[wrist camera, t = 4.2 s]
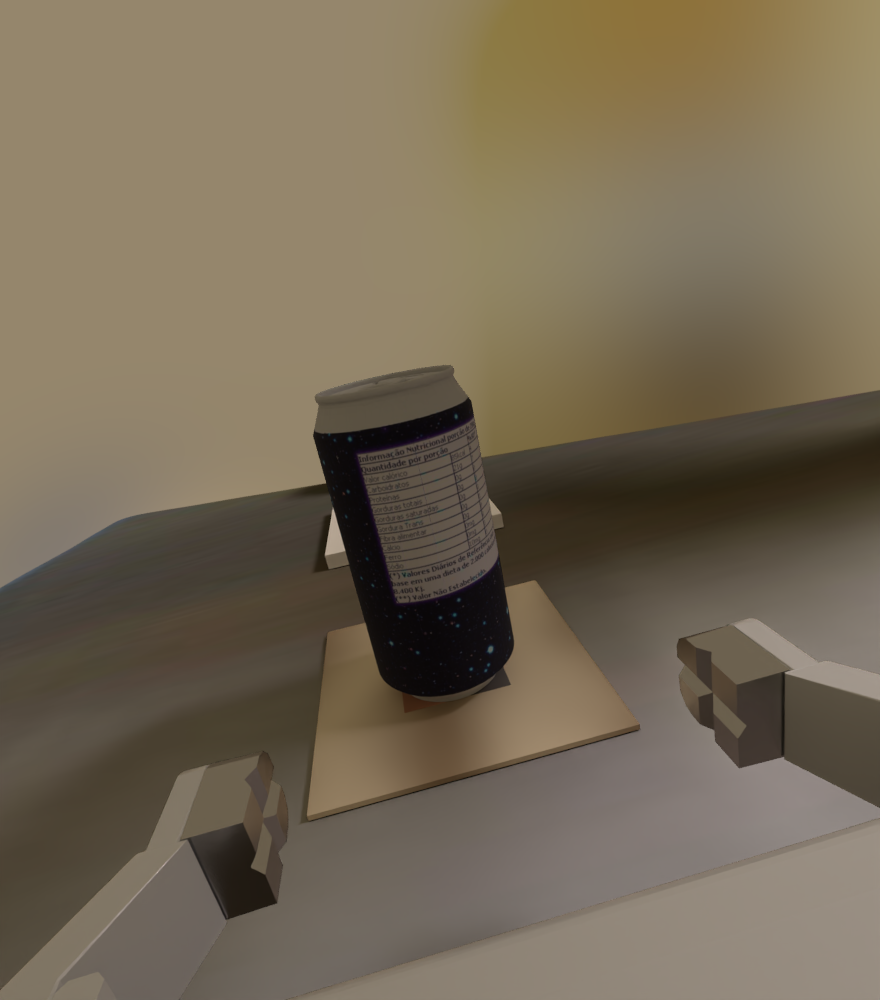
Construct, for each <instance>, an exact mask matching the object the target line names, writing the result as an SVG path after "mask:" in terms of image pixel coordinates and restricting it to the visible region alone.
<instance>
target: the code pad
mask: <svg viewBox="0 0 880 1000" xmlns="http://www.w3.org/2000/svg"><path fill="white" fill-rule="evenodd" d="M505 592H506V597H507V603H508V608H509V614H510V620H511V625H512V631H513V636H514V649H513V652H512V654H511V656H510V658H509V660H508V661H507V663H506V664H505V665H504V666H503V667H502V668H501V670H500V671H499V672H497V673H496V675H495V676H494V678H493V679H492V680H491V681H490V682H489V683H488V684H487V685H486V686H485V687H484V688H482V689H481V690H479V691H478V692H476V693H474V694H472V695H470V696H467V697H464V698H461V699H458V700H453V701H447V702H429V701H424V700H420V699H418V698H415V697H413V696H412V695H409V694H406V693H403V692H400V691H398V690H396V689H394V688H392V687H391V686H389V685H388V684H387V683H386V682H385V681H384V680H383V679H382V677H381V675H380V673H379V670H378V666H377V663H376V659H375V656H374V652H373V649H372V645H371V641H370V638H369V634H368V631H367V627H366V623H362V624H358V625H354V626H350V627H346V628H342V629H338V630H334V631H330V632H328V635H327V643H326V652H325V661H324V670H323V678H322V687H321V696H320V705H319V713H318V722H317V731H316V739H315V748H314V757H313V766H312V774H311V783H310V792H309V801H308V809H307V818H308V821H310V820H314V819H318V818H321V817H325V816H328V815H332V814H336V813H339V812H343V811H346V810H350V809H354V808H357V807H361V806H365V805H368V804H372V803H375V802H379V801H383V800H386V799H390V798H393V797H397V796H401V795H404V794H408V793H411V792H415V791H419V790H422V789H426V788H429V787H433V786H437V785H440V784H444V783H447V782H451V781H455V780H458V779H462V778H466V777H469V776H473V775H476V774H480V773H484V772H487V771H491V770H494V769H498V768H502V767H505V766H509V765H512V764H516V763H520V762H523V761H527V760H530V759H534V758H538V757H541V756H545V755H548V754H552V753H556V752H559V751H563V750H567V749H570V748H574V747H577V746H581V745H585V744H588V743H592V742H595V741H599V740H603V739H606V738H610V737H613V736H617V735H621V734H624V733H628V732H631V731H635V730H639V729H640V724H639V723H638V721H637V720H636V719H635V717H634V716H633V715H632V713H631V712H630V710H629V709H628V708H627V706H626V705H625V704H624V702H623V701H622V699H621V698H620V697H619V695H618V694H617V692H616V691H615V690H614V688H613V687H612V686H611V684H610V683H609V681H608V680H607V679H606V677H605V676H604V674H603V673H602V672H601V670H600V669H599V668H598V666H597V665H596V663H595V662H594V661H593V659H592V658H591V657H590V655H589V654H588V652H587V651H586V650H585V648H584V647H583V645H582V644H581V643H580V641H579V640H578V639H577V637H576V636H575V634H574V633H573V632H572V630H571V629H570V627H569V626H568V625H567V623H566V622H565V621H564V619H563V618H562V616H561V615H560V614H559V612H558V611H557V610H556V608H555V607H554V605H553V604H552V603H551V601H550V600H549V598H548V597H547V596H546V594H545V593H544V592H543V590H542V589H541V587H540V586H539V585H538V583H537V582H536V580H533V581H529V582H525V583H521V584H517V585H513V586H509V587H506V588H505Z"/></svg>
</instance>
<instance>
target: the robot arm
mask: <svg viewBox="0 0 880 1000" xmlns="http://www.w3.org/2000/svg"><path fill="white" fill-rule="evenodd" d="M677 657H678V658H679V659H680V660H681V661H682V662H683V663H684V664H685V666H684V668H683V670H682V671H681V673H680V675H679V682H680V690H681V693H682V696H683V699H684V701H685V704H686V706H687V707H688V709H689V711H690V712H691V714H692V715H693V717H694V718H695V719H696V720H697V721H698V722H699V724H700V725H703V726H705V727H708V728H710V729H713V730H714V731H715V742H716V743H717V744H718V745H719V746H720V747H721V749H722V750H723V751H724V752H725V753H726V754H727V755H728V756H729V758H730V759H731V760H732V761H733V762H734V763H735V764H736V765H737V766H738V768H742V767H746V766H750V765H754V764H758V763H762V762H766V761H769V760H773V759H777V758H781V757H784V759H785V760H787V761H789V762H791V763H793V764H795V765H797V766H799V767H801V768H803V769H805V770H807V771H809V772H811V773H813V774H814V775H816V776H818V777H820V778H822V779H824V780H826V781H828V782H830V783H832V784H834V785H836V786H838V787H840V788H842V789H844V790H846V791H848V792H850V793H852V794H854V795H856V796H858V797H860V798H862V799H863V800H865V801H867V802H869V803H871V804H873V805H875V806H877V807H879V808H880V674H876V673H872V672H868V671H864V670H861V669H857V668H853V667H849V666H845V665H841V664H838V663H834V662H830V661H824V662H820V663H819V662H817V661H816V660H815V659H813V658H812V657H810V656H809V655H807V654H806V653H805V652H803V651H802V650H800V649H799V648H797V647H796V646H795V645H793V644H792V643H790V642H789V641H787V640H786V639H785V638H783V637H782V636H780V635H779V634H777V633H776V632H775V631H773V630H772V629H770V628H769V627H767V626H766V625H765V624H763V623H762V622H760V621H759V620H757V619H753V618H748V619H745V620H742V621H738V622H735V623H732V624H728V625H726V626H724V627H720V628H717V629H713V630H710V631H706V632H702V633H699V634H695V635H691V636H688V637H684V638H681V639H679V641H678V644H677ZM273 769H274V766H273V764H272V762H271V759H270V757H269V755H268V753H266V752H264V751H261V752H257V753H253V754H249V755H245V756H240V757H236V758H232V759H228V760H224V761H220V762H216V763H212V764H210V765H205V766H201V767H197V768H194V769H190V770H186V771H183V772H182V773H181V774H180V775H178V777H177V778H176V780H175V783H174V785H173V787H172V790H171V792H170V795H169V797H168V799H167V802H166V804H165V806H164V809H163V811H162V813H161V816H160V818H159V821H158V823H157V825H156V828H155V830H154V832H153V835H152V837H151V839H150V842H149V844H148V846H147V849H146V851H144V852H141V853H137V854H136V855H135V856H134V857H133V858H132V859H131V860H130V861H129V862H128V863H127V864H126V865H125V866H124V867H123V868H122V869H121V870H120V871H119V872H118V873H117V874H116V875H115V876H114V877H113V878H112V879H111V880H110V881H109V882H108V883H107V884H106V885H105V886H104V887H103V888H102V889H101V890H100V891H99V892H98V893H97V894H96V895H95V896H94V897H93V898H92V899H91V900H90V901H89V902H88V903H87V904H86V905H85V906H84V907H83V908H82V909H81V910H80V911H79V912H78V913H77V914H76V915H75V916H74V917H73V918H72V919H71V920H70V921H69V922H68V923H67V924H66V925H65V926H64V927H63V928H62V929H61V930H60V931H59V932H58V933H57V934H56V935H55V936H54V937H53V938H52V939H51V940H50V941H49V942H48V943H47V944H46V945H45V946H44V947H43V948H42V949H41V950H40V951H39V952H38V953H37V954H36V955H35V956H34V957H33V958H32V959H31V960H30V961H29V962H28V963H27V964H26V965H25V966H24V967H23V968H22V969H21V970H20V971H19V972H18V973H17V974H16V975H15V976H14V977H13V978H12V979H11V980H10V981H9V982H8V983H7V984H6V985H5V986H4V987H3V988H2V989H1V990H0V1000H179V999H180V997H181V996H182V994H183V992H184V991H185V989H186V988H187V986H188V984H189V983H190V981H191V980H192V978H193V976H194V975H195V973H196V972H197V970H198V968H199V967H200V965H201V964H202V962H203V960H204V959H205V957H206V956H207V954H208V952H209V951H210V949H211V948H212V946H213V944H214V943H215V941H216V940H217V938H218V936H219V935H220V933H221V932H222V930H223V928H224V927H225V925H226V924H227V921H226V920H227V919H230V918H233V917H236V916H239V915H242V914H246V913H249V912H252V911H255V910H258V909H261V908H264V907H267V906H270V905H273V904H276V903H277V901H278V895H279V888H280V882H281V875H282V869H283V864H282V862H281V859H280V856H279V854H278V853H279V851H280V850H281V848H282V847H283V846H284V844H285V843H286V842H287V834H288V808H287V804H286V799H285V795H284V792H283V790H282V787H281V785H279V784H277V783H276V782H274V781H272V780H271V779H272V774H273ZM287 1000H880V818H878V819H875V820H872V821H868V822H865V823H862V824H859V825H855V826H852V827H849V828H845V829H842V830H839V831H836V832H832V833H829V834H826V835H823V836H819V837H816V838H813V839H810V840H806V841H803V842H800V843H796V844H793V845H790V846H787V847H783V848H780V849H777V850H774V851H770V852H767V853H764V854H760V855H757V856H754V857H751V858H747V859H744V860H741V861H738V862H734V863H731V864H728V865H724V866H721V867H718V868H715V869H711V870H708V871H705V872H702V873H698V874H695V875H692V876H688V877H685V878H682V879H679V880H675V881H672V882H669V883H666V884H662V885H659V886H656V887H652V888H649V889H646V890H643V891H639V892H636V893H633V894H629V895H626V896H623V897H620V898H616V899H613V900H610V901H607V902H603V903H600V904H597V905H594V906H590V907H587V908H584V909H581V910H577V911H574V912H571V913H567V914H564V915H561V916H558V917H554V918H551V919H548V920H545V921H541V922H538V923H535V924H532V925H528V926H525V927H522V928H518V929H515V930H512V931H509V932H505V933H502V934H499V935H496V936H492V937H489V938H486V939H483V940H479V941H476V942H473V943H469V944H466V945H463V946H460V947H456V948H453V949H450V950H447V951H443V952H440V953H437V954H434V955H430V956H427V957H424V958H420V959H417V960H414V961H411V962H407V963H404V964H401V965H398V966H394V967H391V968H388V969H385V970H381V971H378V972H375V973H371V974H368V975H365V976H362V977H358V978H355V979H352V980H349V981H345V982H342V983H339V984H336V985H332V986H329V987H326V988H322V989H319V990H316V991H313V992H309V993H306V994H303V995H300V996H296V997H293V998H290V999H287Z"/></svg>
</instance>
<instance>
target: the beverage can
mask: <svg viewBox="0 0 880 1000" xmlns="http://www.w3.org/2000/svg"><path fill="white" fill-rule="evenodd" d="M453 373H454V368H453V366H451V365H442V366H433V367H425V368H419V369H413V370H407V371H402V372H397V373H392V374H387V375H382V376H378V377H373V378H369V379H365V380H361V381H356V382H353V383H349V384H345V385H341V386H338V387H334V388H331V389H328V390H326V391H323V392H320V393H318V394H316V396H315V400H316V402H317V403H318V405H319V408H318V414H317V419H316V424H315V429H314V434H313V437H314V440H315V444H316V447H317V451H318V455H319V458H320V462H321V466H322V469H323V473H324V476H325V480H326V483H327V487H328V491H329V494H330V498H331V501H332V505H333V509H334V512H335V516H336V519H337V523H338V527H339V530H340V534H341V537H342V541H343V544H344V548H345V552H346V555H347V559H348V562H349V566H350V570H351V573H352V577H353V580H354V584H355V588H356V591H357V595H358V598H359V602H360V605H361V609H362V613H363V616H364V620H365V623H366V627H367V631H368V634H369V638H370V641H371V645H372V649H373V652H374V656H375V659H376V663H377V666H378V670H379V673H380V675H381V677H382V679H383V680H384V681H385V682H386V683H387V684H388V685H389V686H391V687H392V688H394V689H396V690H398V691H400V692H403V693H406V694H409V695H412V696H413V697H415V698H418V699H420V700H424V701H429V702H447V701H453V700H458V699H461V698H464V697H467V696H470V695H472V694H474V693H476V692H478V691H479V690H481V689H482V688H484V687H485V686H486V685H487V684H488V683H489V682H490V681H491V680H492V679H493V678H494V676H495V675H496V673H497V672H499V671H500V670H501V668H502V667H503V666H504V665H505V664H506V663H507V661H508V660H509V658H510V656H511V654H512V652H513V649H514V636H513V631H512V625H511V620H510V614H509V608H508V603H507V597H506V592H505V586H504V581H503V575H502V570H501V564H500V558H499V553H498V547H497V542H496V536H495V531H494V525H493V519H492V514H491V508H490V503H489V497H488V492H487V486H486V481H485V475H484V469H483V464H482V458H481V453H480V447H479V442H478V436H477V430H476V425H475V419H474V414H473V408H472V403H471V400H470V399H469V397H468V396H467V395H466V393H465V392H464V391H463V389H462V388H461V387H460V385H459V384H458V383H457V381H456V380H455V378H454V376H453Z"/></svg>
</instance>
